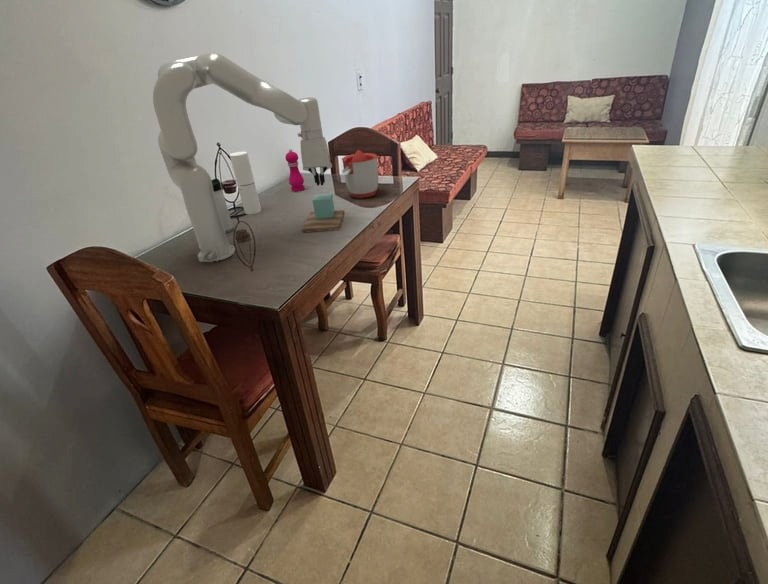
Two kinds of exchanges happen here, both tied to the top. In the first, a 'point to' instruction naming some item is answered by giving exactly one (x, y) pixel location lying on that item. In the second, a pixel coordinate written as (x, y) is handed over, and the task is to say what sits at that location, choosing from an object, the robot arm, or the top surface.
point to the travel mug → (222, 205)
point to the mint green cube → (323, 206)
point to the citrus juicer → (361, 174)
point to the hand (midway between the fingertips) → (320, 184)
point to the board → (323, 222)
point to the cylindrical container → (245, 182)
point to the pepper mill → (294, 172)
